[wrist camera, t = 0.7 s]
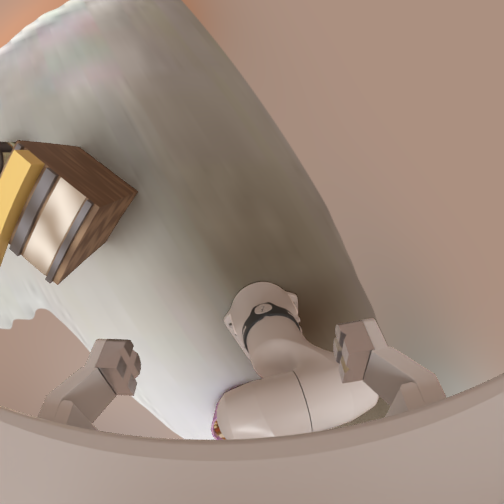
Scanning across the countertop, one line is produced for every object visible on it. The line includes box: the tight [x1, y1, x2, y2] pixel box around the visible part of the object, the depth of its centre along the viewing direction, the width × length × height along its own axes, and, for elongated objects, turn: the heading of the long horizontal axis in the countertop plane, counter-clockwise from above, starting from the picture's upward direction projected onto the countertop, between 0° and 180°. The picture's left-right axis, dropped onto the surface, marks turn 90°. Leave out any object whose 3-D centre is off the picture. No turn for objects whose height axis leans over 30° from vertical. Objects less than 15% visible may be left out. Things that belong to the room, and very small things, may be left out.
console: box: [0, 140, 138, 285], centre depth 46 cm, size 14×19×27 cm
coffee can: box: [0, 142, 16, 174], centre depth 47 cm, size 10×10×14 cm
